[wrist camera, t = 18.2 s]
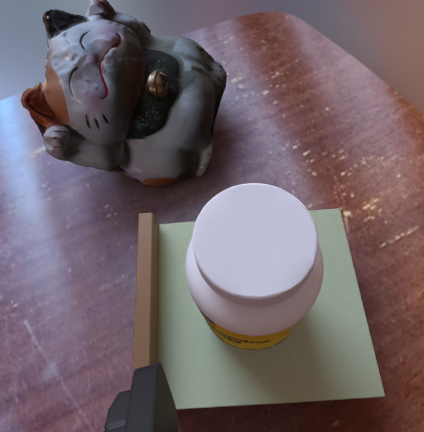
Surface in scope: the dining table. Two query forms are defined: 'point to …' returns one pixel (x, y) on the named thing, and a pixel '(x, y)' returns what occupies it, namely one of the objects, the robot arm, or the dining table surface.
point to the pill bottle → (254, 265)
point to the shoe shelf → (251, 360)
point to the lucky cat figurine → (126, 97)
